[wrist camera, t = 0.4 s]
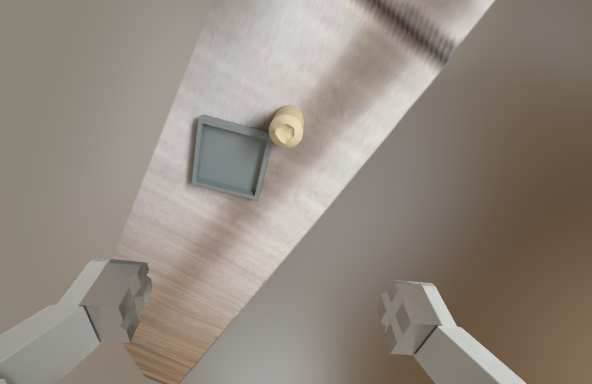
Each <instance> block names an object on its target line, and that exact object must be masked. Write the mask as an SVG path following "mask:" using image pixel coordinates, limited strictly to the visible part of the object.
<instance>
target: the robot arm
mask: <svg viewBox="0 0 592 384" xmlns="http://www.w3.org/2000/svg"><path fill="white" fill-rule="evenodd" d="M148 271H149V267H148V263H145V262H135V261H125V260H115V259H102V258H94V259H92V260H91V261H89V262H88V264H87V265H86V267H85V268H84V269H83V270H82V272H81V273H80V274H79V276H78V277H77V278H76V280H75V281H74V282H73V284H72V285H71V287H70V288H69V289H68V290H67V292H66V293H65V294H64V296H63V297H62V298H61V300H60V301H59V303H58V304H57V305H50V306H48V307H46V308H44V309H43V310H41V311H40V312H38V313H36V314H35V315H33V316H31V317H30V318H28V319H27V320H25V321H23V322H21V323H20V324H18V325H16V326H15V327H13V328H12V329H10V330H8V331H6V332H5V333H3V334H1V335H0V384H56V383H57V382H58V381H59V380H61V379H62V378H63V377H64V376H65V375H66V374H67V373H68V372H69V371H71V370H72V369H73V368H74V367H75V366H76V365H77V364H78V363H79V362H81V361H82V360H83V359H84V358H85V357H86V356H87V355H88V354H89V353H90V352H92V351H93V350H94V349H95V348H96V347H97V346H98V345H99V344H100V342H126V343H130V342H131V340H132V338H133V336H134V333H135V331H136V329H137V327H138V325H139V322H140V320H139V316H138V314H139V313H140V312H142V311H143V310H144V309H145V308H146V307H147V304H148V302H149V300H150V296H151V292H152V281H151V278H149V277H148V276H147V273H148ZM386 290H387V291H386V292H385V293H383V294H381V296H380V298H379V301H378V314H379V318H380V321H381V322H382V323H383V324H384V326H385V327H386V331H385V337H386V341H387V344H388V347H389V350H390V353H393V354H405V355H415V356H414V357H415V358H416V360H417V361H418V362H419V364H420V365H421V366H422V367H423V369H424V370H425V371H426V372H427V374H428V375H429V376H430V377H431V379H432V380H433V381H434V382H435V384H526V383H525V382H524V381H523V380H521V379H520V378H519V377H518V376H517V375H515V374H514V373H513V372H512V371H511V370H510V369H509V368H508V367H507V366H505V365H504V364H503V363H502V362H501V361H499V360H498V359H497V358H496V357H495V356H494V355H493V354H491V353H490V352H489V351H488V350H487V349H486V348H484V347H483V346H482V345H481V344H480V343H479V342H478V341H476V340H475V339H474V338H473V337H472V336H471V335H469V334H468V333H467V332H466V331H465V330H463V329H462V328H461V327H457V326H456V324H455V323H454V321H453V318H452V317H451V315H450V313H449V311H448V310H447V307H446V306H445V304H444V302H443V300H442V298H441V296H440V294H439V293H438V291H437V289H436V287H435V286H434V285H433V284H432V283H421V282H410V281H395V280H391V281H389V282H388V283H387V285H386Z"/></svg>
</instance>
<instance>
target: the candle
mask: <svg viewBox="0 0 592 384" xmlns="http://www.w3.org/2000/svg"><path fill="white" fill-rule="evenodd" d="M303 127H304V118H303V115H302V113H301V111H300V110H299V109H297V108H296V107H294V106H284V107H282V108H280V109H279V110H278V111H277V113H276V114H275V116H274V118H273V120H272V122H271V123H270V126H269V136H270V138H271V140H272V141H273V143H274V144H276V145H277V146H279V147H281V148H291V147H294V146H296V145H297V144H298V143H299V142H300V141H301V139H302V136H303Z"/></svg>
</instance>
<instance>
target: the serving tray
mask: <svg viewBox="0 0 592 384" xmlns="http://www.w3.org/2000/svg"><path fill="white" fill-rule="evenodd" d="M271 145H272V140H271V138H270V136H269V132H266V131H262V130H259V129H255V128H251V127H247V126H244V125H240V124H236V123H233V122H229V121H225V120H221V119H218V118H214V117H210V116H207V115H202V116H200V117H199V118H198V126H197V135H196V145H195V155H194V165H193V174H192V185H196V186H200V187H204V188H208V189H213V190H217V191H221V192H225V193H229V194H233V195H237V196H241V197H245V198H249V199H253V200H257V201H258V199H259V196H260V192H261V188H262V184H263V179H264V175H265V171H266V166H267V162H268V158H269V153H270V149H271Z"/></svg>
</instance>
